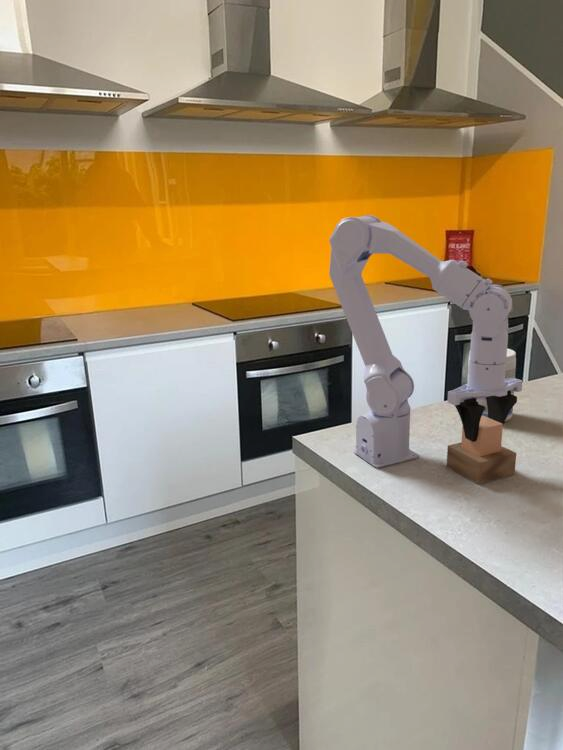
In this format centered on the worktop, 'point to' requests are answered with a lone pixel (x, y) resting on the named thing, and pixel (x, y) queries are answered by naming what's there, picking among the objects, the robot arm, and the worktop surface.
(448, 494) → the worktop surface
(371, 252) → the robot arm
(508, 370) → the supplement tub
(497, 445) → the orange-tan cube
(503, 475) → the walnut block
